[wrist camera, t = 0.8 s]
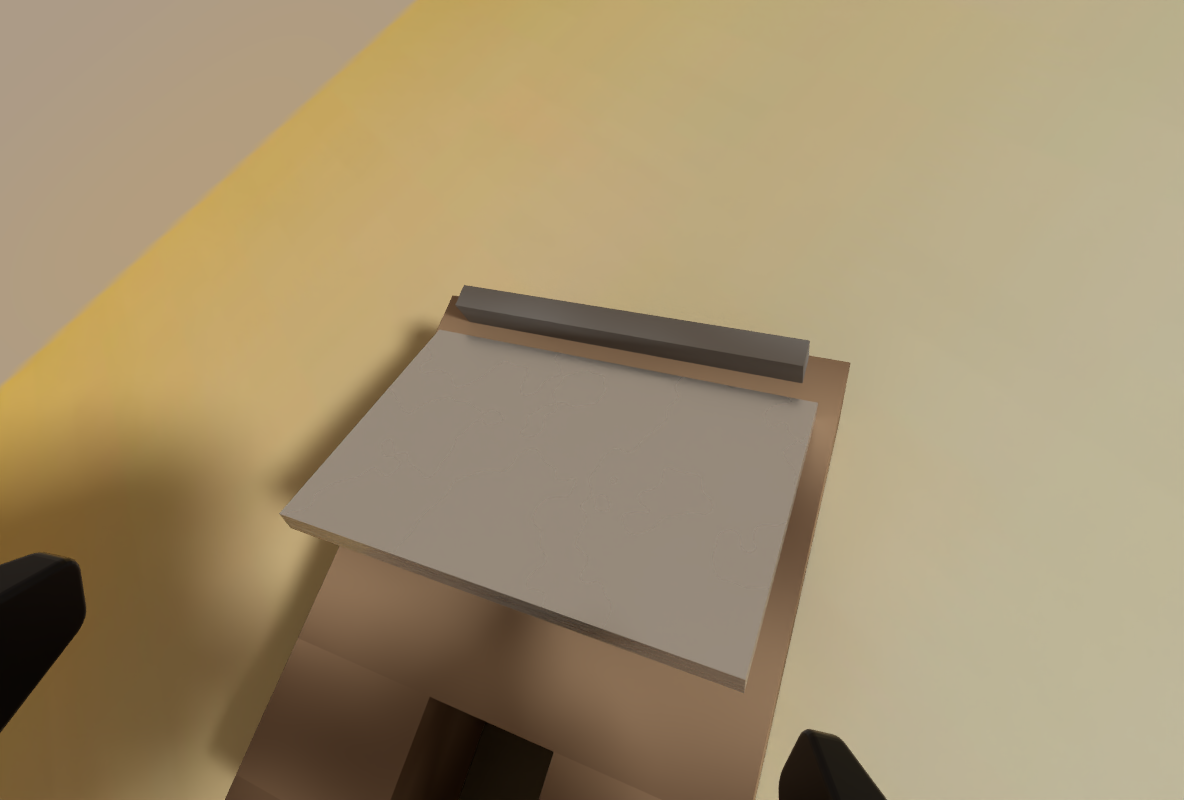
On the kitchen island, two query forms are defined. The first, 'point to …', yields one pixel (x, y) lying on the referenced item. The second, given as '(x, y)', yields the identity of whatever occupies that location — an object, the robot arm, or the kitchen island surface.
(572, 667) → the brown box
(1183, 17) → the kitchen island surface
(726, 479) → the steel flap
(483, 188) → the kitchen island surface
